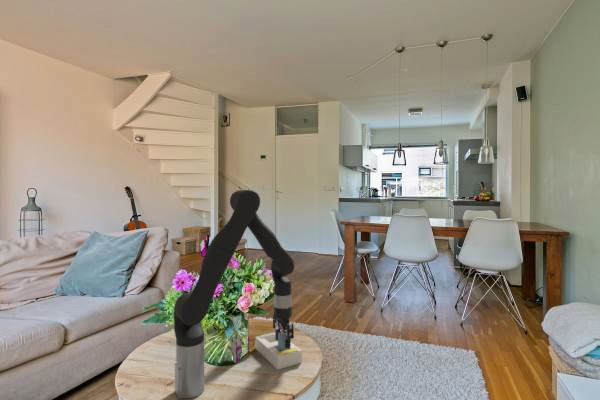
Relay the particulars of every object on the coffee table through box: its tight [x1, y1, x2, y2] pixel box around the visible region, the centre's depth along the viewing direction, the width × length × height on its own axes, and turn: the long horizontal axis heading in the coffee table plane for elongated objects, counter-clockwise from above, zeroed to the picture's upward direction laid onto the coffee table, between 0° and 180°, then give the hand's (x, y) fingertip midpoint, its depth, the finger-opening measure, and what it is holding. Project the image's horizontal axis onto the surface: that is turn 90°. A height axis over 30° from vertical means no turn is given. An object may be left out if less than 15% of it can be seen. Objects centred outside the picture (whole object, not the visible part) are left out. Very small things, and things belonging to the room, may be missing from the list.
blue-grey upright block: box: [278, 330, 288, 352], centre depth 139 cm, size 4×4×10 cm
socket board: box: [254, 331, 303, 371], centre depth 143 cm, size 11×22×5 cm, turn 30°
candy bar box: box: [232, 314, 250, 364], centre depth 142 cm, size 11×5×16 cm, turn 161°
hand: (282, 343), depth 139 cm, fingers open, 8 cm apart
